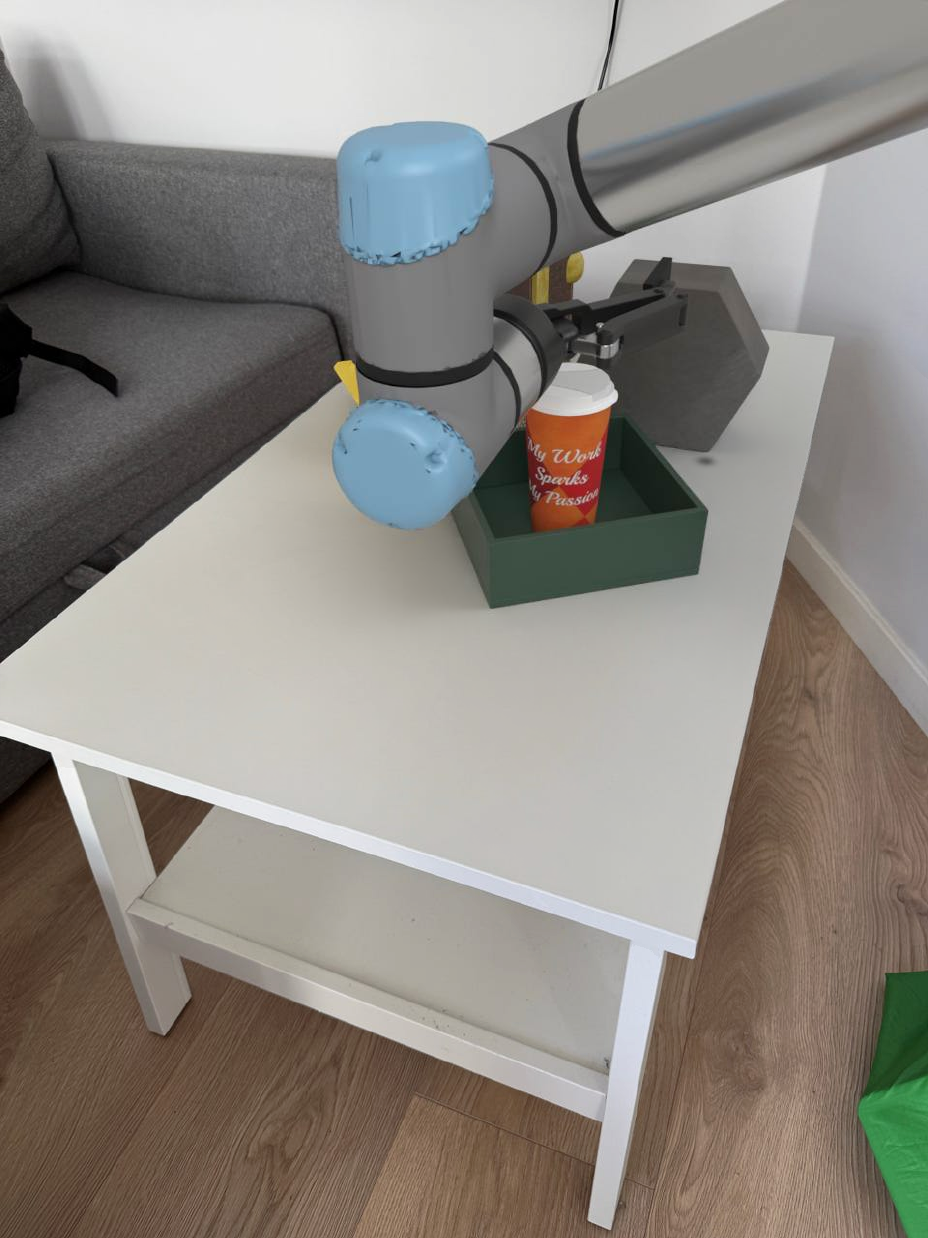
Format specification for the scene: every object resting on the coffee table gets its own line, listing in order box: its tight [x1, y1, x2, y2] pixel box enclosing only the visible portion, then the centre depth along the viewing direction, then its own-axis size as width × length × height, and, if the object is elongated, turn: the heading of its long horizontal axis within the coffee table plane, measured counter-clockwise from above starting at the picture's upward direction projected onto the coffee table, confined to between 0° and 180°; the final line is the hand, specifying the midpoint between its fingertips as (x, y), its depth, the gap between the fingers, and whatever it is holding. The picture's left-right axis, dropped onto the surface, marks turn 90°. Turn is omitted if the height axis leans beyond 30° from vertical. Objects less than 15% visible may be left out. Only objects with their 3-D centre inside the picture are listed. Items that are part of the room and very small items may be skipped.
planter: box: [575, 258, 770, 453], centre depth 99 cm, size 17×8×21 cm
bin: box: [450, 413, 709, 609], centre depth 86 cm, size 19×19×7 cm
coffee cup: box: [524, 362, 618, 533], centre depth 83 cm, size 8×8×15 cm
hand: (583, 266), depth 75 cm, fingers open, 13 cm apart
